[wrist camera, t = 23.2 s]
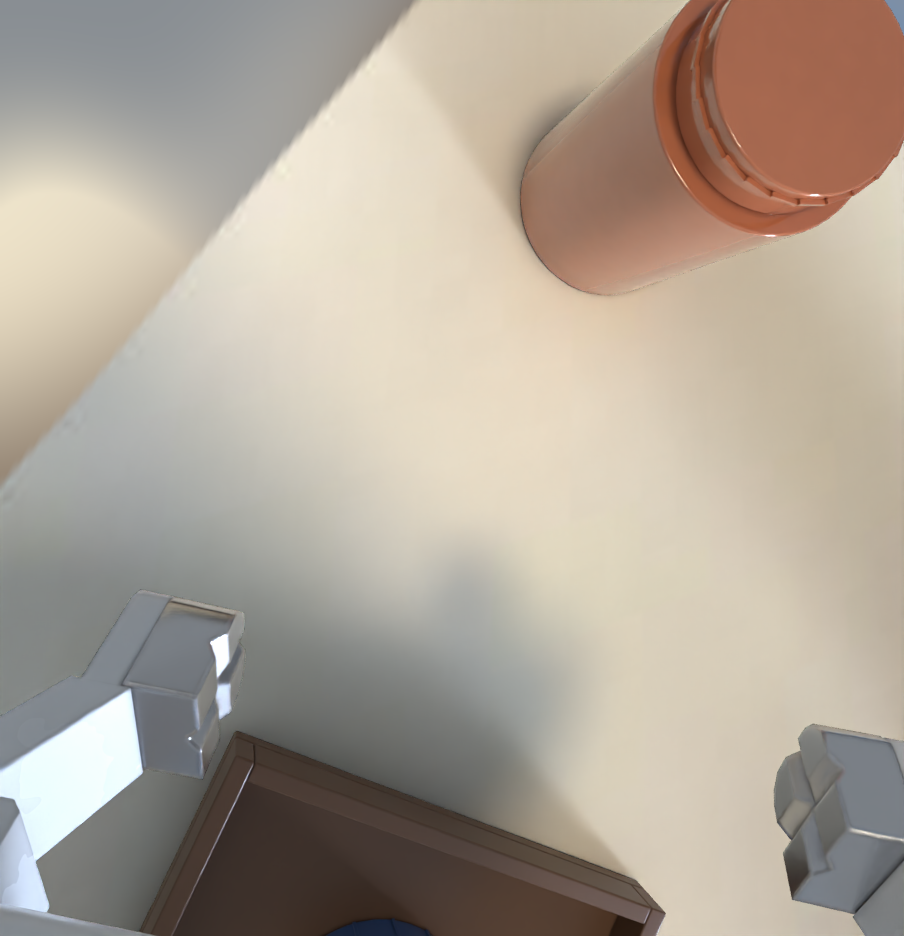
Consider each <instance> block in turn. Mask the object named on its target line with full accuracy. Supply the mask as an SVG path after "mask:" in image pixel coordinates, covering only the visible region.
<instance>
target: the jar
mask: <svg viewBox="0 0 904 936" xmlns="http://www.w3.org/2000/svg"><path fill="white" fill-rule="evenodd" d="M903 141H904V35H903V32H902V30H901V28H900V25H899V23H898V21H897V19H896V17H895V16H894V14H893V12H892V10H891V9H890V7H889V6H888V5H887V3H886V2H885V0H690V1H689V2H688V3H687V4H685V5H684V6H683V7H682V8H681V9H680V10H679V11H678V12H677V13H676V14H675V15H674V16H673V17H672V18H670V19H669V20H668V21H667V22H666V23H665V24H664V25H663V26H662V27H661V28H660V29H659V30H658V31H657V32H656V33H654V34H653V35H652V36H651V37H650V38H649V39H648V40H647V41H646V42H645V43H644V44H643V45H642V46H641V47H639V48H638V49H637V50H636V51H635V52H634V53H633V54H632V55H631V56H630V57H629V58H628V59H627V60H626V61H624V62H623V63H622V64H621V65H620V66H619V67H618V68H617V69H616V70H615V71H614V72H613V73H612V74H611V75H610V76H608V77H607V78H606V79H605V80H604V81H603V82H602V83H601V84H600V85H599V86H598V87H597V88H596V89H595V90H593V91H592V92H591V93H590V94H589V95H588V96H587V97H586V98H585V99H584V100H583V101H582V102H581V103H580V104H579V105H577V106H576V107H575V108H574V109H573V110H572V111H571V112H570V113H569V114H568V115H567V116H566V117H565V118H564V119H562V120H561V121H560V122H559V123H558V124H557V125H556V126H555V127H554V128H553V129H552V130H551V131H550V132H549V133H548V134H547V135H546V136H545V137H544V138H543V139H542V140H541V141H540V142H539V144H538V145H537V146H536V148H535V149H534V151H533V153H532V155H531V156H530V158H529V161H528V163H527V166H526V168H525V172H524V176H523V180H522V187H521V211H522V218H523V222H524V226H525V230H526V233H527V235H528V238H529V241H530V243H531V244H532V246H533V248H534V250H535V252H536V253H537V255H538V256H539V258H540V259H541V261H542V262H543V263H544V264H545V265H546V266H547V268H548V269H549V270H550V271H551V272H552V273H554V274H555V275H556V276H557V277H558V278H560V279H561V280H563V281H564V282H566V283H567V284H569V285H571V286H573V287H575V288H577V289H579V290H582V291H585V292H588V293H593V294H598V295H616V294H623V293H627V292H631V291H634V290H637V289H640V288H642V287H645V286H648V285H651V284H654V283H657V282H660V281H663V280H666V279H669V278H672V277H674V276H677V275H680V274H683V273H686V272H689V271H692V270H695V269H698V268H701V267H703V266H706V265H709V264H712V263H715V262H718V261H721V260H724V259H727V258H730V257H732V256H735V255H738V254H741V253H744V252H747V251H750V250H753V249H756V248H759V247H762V246H764V245H767V244H770V243H773V242H776V241H779V240H782V239H785V238H788V237H791V236H793V235H796V234H799V233H802V232H805V231H807V230H809V229H812V228H814V227H816V226H818V225H820V224H821V223H823V222H825V221H826V220H828V219H829V218H830V217H832V216H833V215H834V214H835V213H836V212H838V211H839V210H840V209H841V208H842V207H843V206H844V205H845V203H846V202H847V201H848V200H849V199H850V198H851V196H854V195H856V194H857V193H859V192H860V191H861V190H863V189H864V188H865V187H867V186H868V185H869V184H871V183H872V182H874V181H875V180H877V179H879V177H880V176H881V175H882V173H883V172H884V171H885V169H886V168H887V167H888V165H889V164H890V163H891V161H892V160H893V159H894V158H895V157H897V156H898V153H899V151H900V148H901V146H902V143H903Z"/></svg>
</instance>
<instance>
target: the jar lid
mask: <svg viewBox="0 0 904 936" xmlns="http://www.w3.org/2000/svg"><path fill="white" fill-rule="evenodd" d="M352 923H353V924H350V925H347V926H345V927H342V928H340V929H337V930H335V931H333V932H332V933H330V934H328V935H326V936H432V935H431V934H430V932H429V930H427V929H426V930H423V929H421V928H419V927H416V926H414V925H412V924H409V923H405V922H401V921H397V920H395V918H392V919H391V920H387V919H378V920H368V921H361V922H357V923H356V921H355V922H352Z"/></svg>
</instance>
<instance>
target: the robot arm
mask: <svg viewBox="0 0 904 936" xmlns="http://www.w3.org/2000/svg"><path fill="white" fill-rule="evenodd" d="M244 630H245V622H244V613H243V612H241V611H237V610H232V609H228V608H223V607H219V606H214V605H210V604H206V603H201V602H197V601H192V600H188V599H183V598H179V597H173V596H169V595H164V594H159V593H155V592H150V591H145V590H141V589H140V590H139V591H138V592H137V593H136V594H134V595H133V596H132V597H131V598H130V600H129V601H128V603H127V604H126V606H125V608H124V609H123V611H122V612H121V614H120V616H119V617H118V619H117V620H116V622H115V624H114V625H113V627H112V628H111V630H110V632H109V633H108V635H107V636H106V638H105V640H104V641H103V643H102V644H101V646H100V648H99V649H98V651H97V652H96V654H95V656H94V657H93V659H92V661H91V662H90V664H89V665H88V667H87V669H86V670H85V672H84V673H83V675H82V677H76V676H69V677H67V678H66V679H64V680H62V681H60V682H59V683H57V684H55V685H53V686H52V687H50V688H48V689H47V690H45V691H43V692H41V693H40V694H38V695H36V696H34V697H33V698H31V699H29V700H27V701H26V702H24V703H22V704H20V705H19V706H17V707H15V708H14V709H12V710H10V711H8V712H7V713H5V714H3V715H1V716H0V936H156V935H151V934H146V933H141V932H136V931H132V930H127V929H122V928H117V927H112V926H108V925H103V924H98V923H93V922H89V921H84V920H79V919H74V918H70V917H65V916H60V915H55V914H50V913H47V911H48V909H49V907H50V905H49V902H48V899H47V896H46V893H45V889H44V886H43V883H42V880H41V877H40V874H39V870H38V867H37V864H36V860H38V859H39V858H40V857H41V856H43V855H44V854H45V853H46V852H47V851H49V850H50V849H51V848H52V847H53V846H55V845H56V844H57V843H58V842H60V841H61V840H62V839H63V838H64V837H66V836H67V835H68V834H69V833H71V832H72V831H73V830H74V829H75V828H77V827H78V826H79V825H80V824H81V823H83V822H84V821H85V820H86V819H88V818H89V817H90V816H91V815H92V814H94V813H95V812H96V811H97V810H98V809H100V808H101V807H102V806H103V805H105V804H106V803H107V802H108V801H109V800H111V799H112V798H113V797H114V796H115V795H117V794H118V793H119V792H120V791H122V790H123V789H124V788H125V787H126V786H128V785H129V784H130V783H131V782H133V781H134V780H135V779H136V778H137V777H139V776H140V775H141V774H142V773H143V769H145V770H151V771H157V772H162V773H168V774H174V775H179V776H185V777H191V778H197V779H202V780H203V778H204V775H205V773H206V771H207V768H208V766H209V763H210V761H211V759H212V756H213V754H214V752H215V749H216V747H217V745H218V742H219V740H220V727H219V720H221V719H222V718H224V717H225V716H227V715H228V714H230V713H231V712H232V709H233V707H234V704H235V702H236V699H237V697H238V693H239V690H240V686H241V683H242V679H243V675H244V667H245V648H244V647H243V646H242V645H241V644H240V642H239V641H240V639H241V636H242V634H243V632H244ZM798 741H799V746H800V750H801V751H799V752H797V753H794V754H792V755H790V756H787V757H786V758H785V759H784V761H783V763H782V765H781V766H780V768H779V770H778V772H777V777H776V782H775V787H774V807H775V813H776V819H777V823H778V824H779V826H780V827H781V828H782V829H783V831H784V832H785V833H786V834H787V836H788V837H789V838H790V839H791V841H790V843H789V844H788V846H787V847H786V849H785V851H784V852H783V856H784V861H785V866H786V871H787V876H788V881H789V886H790V891H791V896H792V900H795V901H800V902H804V903H808V904H813V905H817V906H821V907H826V908H830V909H834V910H839V911H843V912H847V913H852V914H855V915H854V916H853V918H854V920H855V921H856V923H857V924H858V926H859V927H860V929H861V930H862V932H863V933H864V935H865V936H904V741H899V740H894V739H889V738H882V737H881V736H877V735H872V734H866V733H861V732H855V731H850V730H845V729H839V728H834V727H828V726H823V725H818V724H811V725H809V726H807V727H806V728H805V729H804V730H803V732H802V733H801V735H800V736H799V738H798Z"/></svg>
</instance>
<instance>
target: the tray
mask: <svg viewBox="0 0 904 936" xmlns="http://www.w3.org/2000/svg"><path fill="white" fill-rule="evenodd" d="M665 914H666V913H665V912H664V911H663V910H662V909H661V907H660V906H659V905H658V904H657V903H656V902H655V901H654V900H653V898H652V897H651V896H650V895H649V894H648V893H647V892H646V891H645V890H644V889H643V888H642V886H641V885H640V884H639V883H638V882H637V881H636V880H633V879H630V878H628V877H625V876H622V875H620V874H617V873H614V872H612V871H609V870H606V869H604V868H601V867H598V866H596V865H593V864H590V863H588V862H585V861H582V860H580V859H577V858H574V857H572V856H569V855H566V854H564V853H561V852H558V851H556V850H553V849H550V848H548V847H545V846H542V845H540V844H537V843H534V842H532V841H529V840H526V839H524V838H521V837H518V836H516V835H513V834H510V833H508V832H505V831H502V830H500V829H497V828H494V827H492V826H489V825H486V824H484V823H481V822H478V821H476V820H473V819H470V818H468V817H465V816H462V815H460V814H457V813H454V812H452V811H449V810H446V809H444V808H441V807H438V806H436V805H433V804H430V803H428V802H425V801H422V800H420V799H417V798H414V797H412V796H409V795H406V794H404V793H401V792H398V791H396V790H393V789H390V788H388V787H385V786H382V785H380V784H377V783H374V782H372V781H369V780H366V779H364V778H361V777H358V776H356V775H353V774H350V773H348V772H345V771H342V770H340V769H337V768H334V767H332V766H329V765H326V764H324V763H321V762H318V761H316V760H313V759H310V758H308V757H305V756H302V755H300V754H297V753H294V752H292V751H289V750H286V749H284V748H281V747H278V746H276V745H273V744H270V743H268V742H265V741H262V740H260V739H257V738H254V737H252V736H249V735H246V734H244V733H241V732H238V731H236V732H235V733H234V735H233V737H232V739H231V741H230V743H229V745H228V747H227V749H226V751H225V753H224V755H223V758H222V760H221V762H220V764H219V766H218V768H217V770H216V772H215V774H214V776H213V778H212V780H211V783H210V785H209V787H208V789H207V791H206V793H205V795H204V797H203V799H202V801H201V803H200V806H199V808H198V810H197V812H196V814H195V816H194V818H193V820H192V822H191V824H190V826H189V829H188V831H187V833H186V835H185V837H184V839H183V841H182V843H181V845H180V847H179V849H178V852H177V854H176V856H175V858H174V860H173V862H172V864H171V866H170V868H169V870H168V872H167V875H166V877H165V879H164V881H163V883H162V885H161V887H160V889H159V891H158V893H157V895H156V898H155V900H154V902H153V904H152V906H151V908H150V910H149V912H148V914H147V916H146V918H145V921H144V923H143V925H142V927H141V929H140V931H139V932H141V933H146V934H151V935H156V936H326V935H328V934H330V933H332V932H333V931H335V930H337V929H340V928H342V927H345V926H347V925H350V924H353V923H352V922H355V921H356V923H357V922H361V921H368V920H378V919H387V920H391V919H392V918H395V920H397V921H401V922H405V923H409V924H412V925H414V926H416V927H419V928H421V929H423V930H426V929H427V930H429V932H430V934H431V935H432V936H657V933H658V931H659V929H660V926H661V924H662V922H663V919H664V917H665Z"/></svg>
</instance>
